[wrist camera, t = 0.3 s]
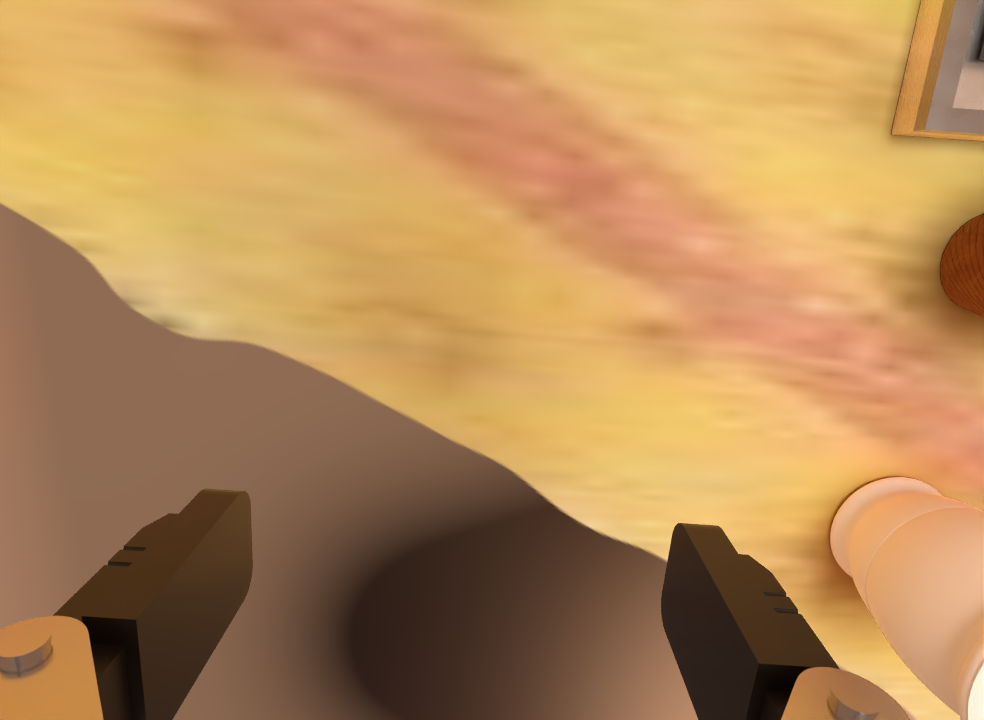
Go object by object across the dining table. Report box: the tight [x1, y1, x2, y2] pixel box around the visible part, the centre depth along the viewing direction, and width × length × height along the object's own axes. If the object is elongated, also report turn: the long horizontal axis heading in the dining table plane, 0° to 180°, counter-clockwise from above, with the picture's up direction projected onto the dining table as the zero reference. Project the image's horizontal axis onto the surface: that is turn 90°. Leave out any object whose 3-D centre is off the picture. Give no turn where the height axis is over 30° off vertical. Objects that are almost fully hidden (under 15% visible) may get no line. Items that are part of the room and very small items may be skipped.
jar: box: [830, 477, 984, 720], centre depth 36 cm, size 11×10×15 cm
